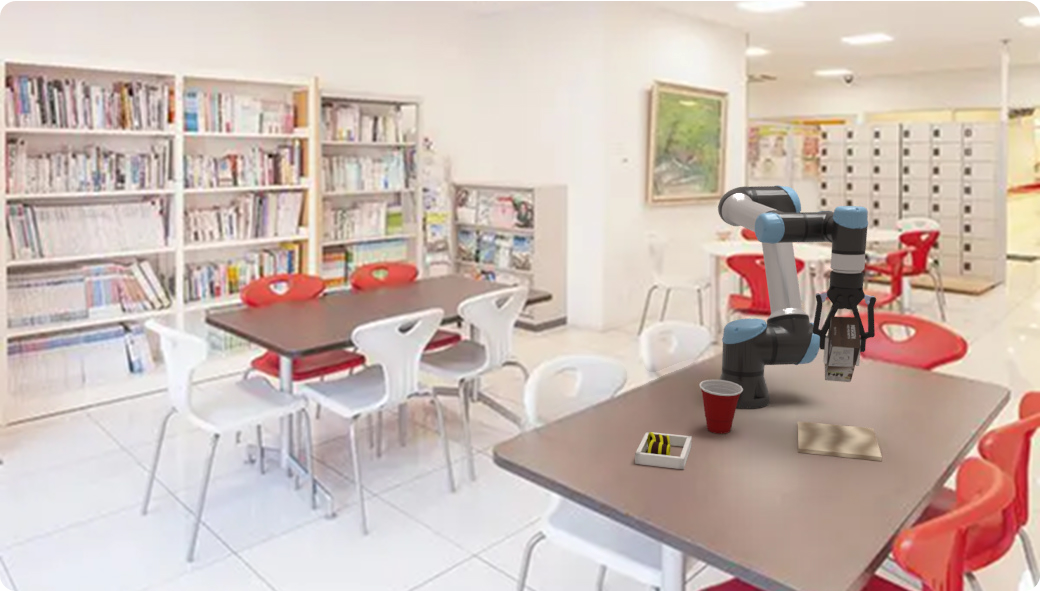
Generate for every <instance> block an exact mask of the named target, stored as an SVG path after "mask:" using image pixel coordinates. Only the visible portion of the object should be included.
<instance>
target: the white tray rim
mask: <svg viewBox="0 0 1040 591" xmlns="http://www.w3.org/2000/svg"><path fill="white" fill-rule="evenodd" d="M650 432H651V431H646V432H645V434H644V435H643V437H642V439H641V442H640V444H639V445H638V446H637V447H638V448H637V449H636V451H635V454H634V458H635V459H634V464H635V465H642V466H643V465H644V466H651V467H660V468H669V469H677V470H685V467H686V463H687V460H688V458H689V455H690V452H691V449H692V444H693V443H692V442H693V441H692V440H693V439H692V438H693V436H691V435H682V434H672V433H661V432H653V433H654V434H657V435H658V434H661V435H662V436H663V435H664V436H666V435H669V439H670V446H671V447H680V448H681V447H682V449H681V450H682V451H681V452H680V455H679V456H676V455H670V456H669V455H660V454H651V453H648V452H646V451H648V448H647V447H648V443H647V437H648V434H649V433H650Z"/></svg>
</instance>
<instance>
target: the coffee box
mask: <svg viewBox="0 0 1040 591" xmlns="http://www.w3.org/2000/svg"><path fill="white" fill-rule="evenodd" d="M826 336H828V337H829V342H828V358H827V364H824V381H830V382H841V383H851V381H852V378H853V375H854V371H855V368H856V361H857V358H858V354H859V351H860V348H861V345H860V332H859V318H858V317H854V316H853V317H852V316H851V317H850V316H836V315H835V316H831V322H830V327H829V329H828V332H827V334H826Z"/></svg>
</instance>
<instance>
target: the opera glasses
mask: <svg viewBox="0 0 1040 591" xmlns="http://www.w3.org/2000/svg"><path fill="white" fill-rule="evenodd" d="M649 432H650V433H649V434H648V437H647V443H648V448H647V453H651V454H660V455H669V456H671V445H670V439H669V435H666V436H664V435H663V436H662V435H661V434H658V435H657V434H654V433H655V432H654V433H653V432H652V431H649Z"/></svg>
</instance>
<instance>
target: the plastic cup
mask: <svg viewBox="0 0 1040 591" xmlns="http://www.w3.org/2000/svg"><path fill="white" fill-rule="evenodd" d="M699 388H700V390H701V395H702V401H703V402H702V403H703V409H704V416H705V423H706V427H707V428H706V429H707V431H709V432H711V433H714V434H723V435H724V434H728V433H730V432H731V429H732V425H733V421H734V418H735V414H736V410H737V408H736V406H737V401H738V399H739V396H740V394H741V392H742V391H743V388H742V387H741V386H740V385H738V384H736V383H733V382H730V381H725V380H719V379H707V380H702V381H701V382H699Z"/></svg>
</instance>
